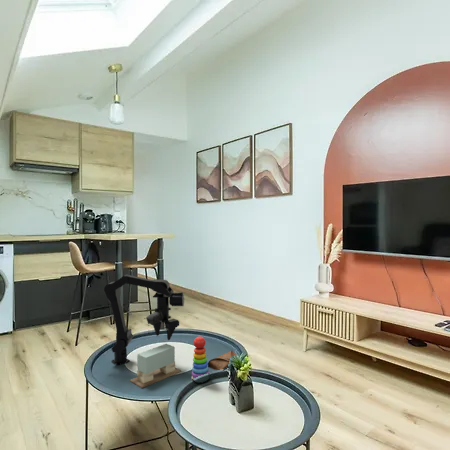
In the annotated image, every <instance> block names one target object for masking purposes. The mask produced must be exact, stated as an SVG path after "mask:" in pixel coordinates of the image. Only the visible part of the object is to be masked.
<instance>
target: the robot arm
mask: <svg viewBox="0 0 450 450" xmlns="http://www.w3.org/2000/svg"><path fill="white" fill-rule="evenodd" d="M126 284H127V285H131V286H132V285H133V286H136V287H137V286H138V287H141V288H142V287H143V288H147V289H150V290H152V291H153V292H155V294H154V295H152V298H156V308H155V309H154V312H153V313H151V314H150V313H149V314H148V316H146V318H145V319H146V321H147V324H148V325H150V326H152V327H153V329H154V331H155V335H156V337H158V336H159V335H160V331H161V325H162V323H163V324H164V326H165V327H164V329H165V330H166V337H167V341H170V340H171V339H172V336H173V334H174V332H175V330H176V329H177V328H178V327H179V326H180V321H179V319H175V318H172V317H171V315H170V311H171V307H170V306H172V307H185V296H184V291H179V292H176V291H175V292H174V290H173V289H172V287H171V286H170V284H171V283H170V282H169V281H168V280H167V279H150V278H144V277H140V276H136V275H135V276H134V275H132V274H131V275H130V274H127V273H126V274H124V275H122V277H120V278H119V279H117V280H116V281H111V282H110V283H107V284H106V285H105V286H104V287H103V292H104V294H105V295H104V296H105V297H106V299H107V300H108V302H109V303H110V307H111V310H112V316H113V319H114V320H113V321H114V324H115V328H116V333H115V341H116V343H115V344H114V345H113V346H112V347H111V351H112V353H113V354H114V355H113V356H114V357H113V358H114V359H112V360H111V363H113V364H115V365H117V366H119V365H120V366H121V365H122V364H126V363H128V362H130V359H128V354H127V347H128V346H129V345H130V343H131V342H132V340H133V336H134V335H133V333H132V328H128V327H127V324H126V321H125V316H124V313H123V312H124V311H123V307H122V304H121V288H122V287H124V286H125V285H126Z"/></svg>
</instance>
